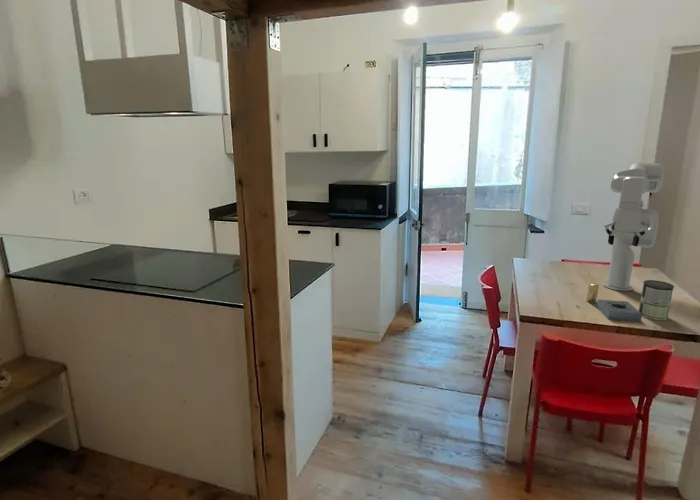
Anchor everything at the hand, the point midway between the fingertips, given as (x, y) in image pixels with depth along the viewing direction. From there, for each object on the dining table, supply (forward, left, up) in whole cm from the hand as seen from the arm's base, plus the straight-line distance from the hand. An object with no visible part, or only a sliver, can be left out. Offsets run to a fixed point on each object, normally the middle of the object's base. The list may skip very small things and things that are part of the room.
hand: (622, 245), depth 186 cm
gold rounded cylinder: (0, -9, -27) cm, 29 cm away
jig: (+14, -3, -27) cm, 31 cm away
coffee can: (+12, +11, -27) cm, 32 cm away
